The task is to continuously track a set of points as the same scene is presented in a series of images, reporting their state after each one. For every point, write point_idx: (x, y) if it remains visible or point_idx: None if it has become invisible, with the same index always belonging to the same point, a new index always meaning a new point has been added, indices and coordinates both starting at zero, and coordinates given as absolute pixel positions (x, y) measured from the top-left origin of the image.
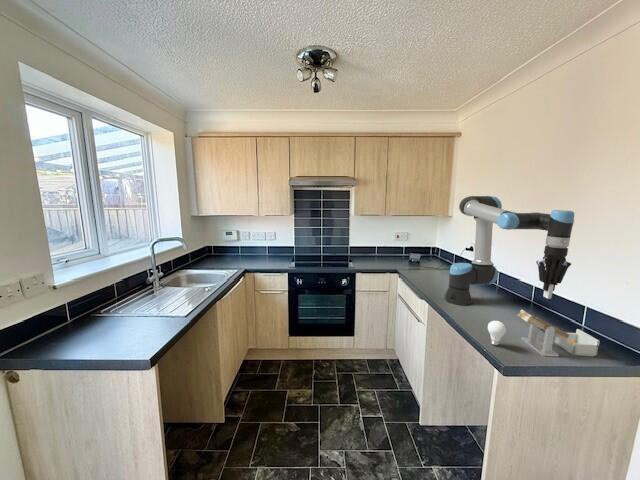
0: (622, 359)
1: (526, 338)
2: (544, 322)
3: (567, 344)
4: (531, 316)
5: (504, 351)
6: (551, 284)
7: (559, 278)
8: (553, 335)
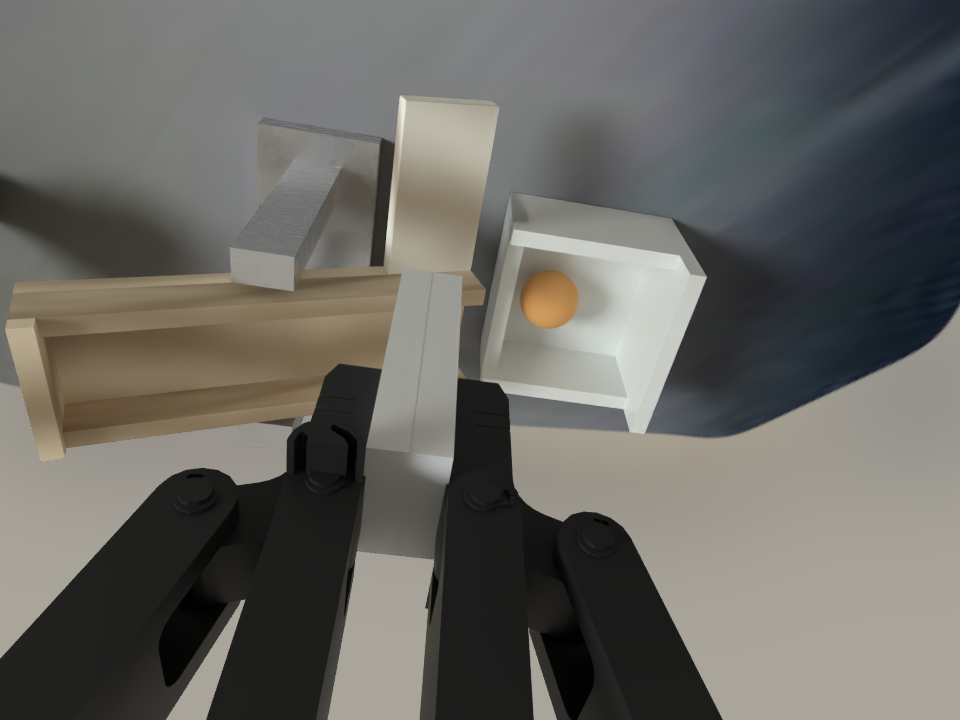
0: (749, 391)
1: (283, 154)
2: (328, 312)
3: (489, 320)
4: (51, 455)
5: (23, 273)
6: (405, 537)
7: (558, 711)
8: None
